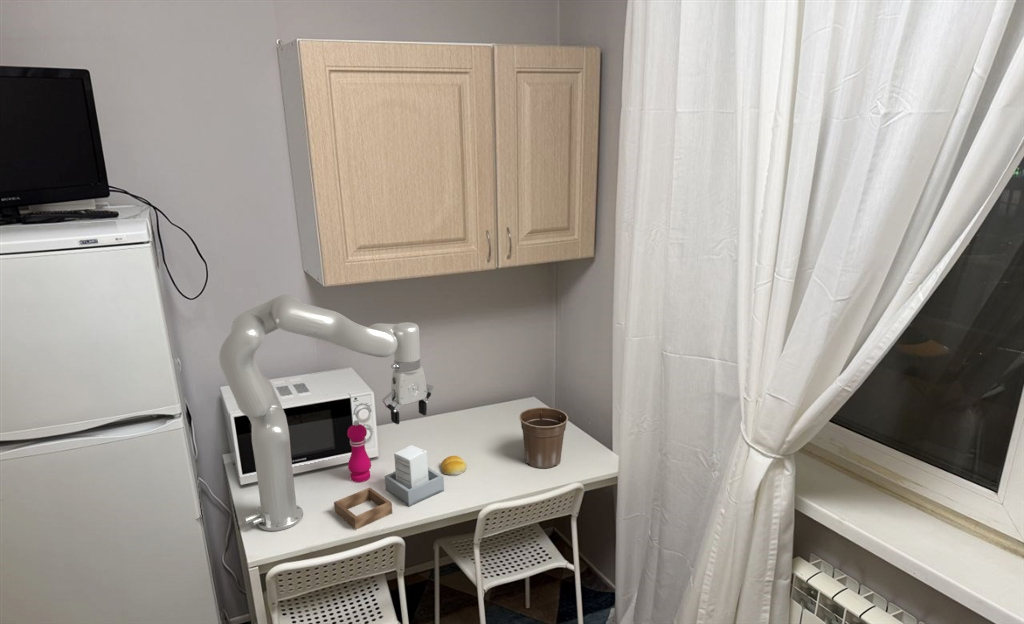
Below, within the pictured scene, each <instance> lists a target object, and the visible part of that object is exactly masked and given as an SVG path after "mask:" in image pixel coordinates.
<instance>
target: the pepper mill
mask: <svg viewBox="0 0 1024 624" xmlns="http://www.w3.org/2000/svg"><path fill="white" fill-rule="evenodd" d="M367 433H368V431H367V428H366V427H365V425H363V424H361V423H360V421H359V420H353V424H351V426H349V427H348V429H347V435H346V436H347V437H348V439H349V445H350V446H351V454H350V457H349V460H348V463H347V465H348V466H347V469H348V471H350V480H351V481H352V482H354V483H363V482H367V481H368V480H369V479H370V478H371V471H370V469H371V467H372V462H371V459H370V457H369V454H368V452H367V451H366V447H365V446H366V445H365V444H366V443H367V441H366V436H367Z"/></svg>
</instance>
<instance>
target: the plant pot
mask: <svg viewBox="0 0 1024 624" xmlns="http://www.w3.org/2000/svg"><path fill="white" fill-rule="evenodd" d="M518 418H519V421H520V426H521V430H522V437H523V438H522V439H523V449H524V451H523V452H524V460H525V463H526V464H529V466H531V467H533V468H537V469H550V468H552V467H554V466H555V467H556V466H558V465H559V464H560V463H561V461H562V452H563V443H564V436H565V431H566V428H567V422H568V420H569V416H568V415H567V413H566V412H564V411H563V410H560V409H559V408H558V409H557V408H552V407H540V406H539V407H531V408H528V409H526V410H523V411H522V412H521V413H520V414H519V416H518Z"/></svg>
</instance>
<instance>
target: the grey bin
mask: <svg viewBox="0 0 1024 624" xmlns="http://www.w3.org/2000/svg"><path fill="white" fill-rule="evenodd" d="M428 478H429V481H427V482H425V483H423V484H420V485H418V486H416V487H413V488H411V489H408V488H406V487H405V486H403V485H402V484H400V483H399V482H397V481H396V473H395V471H393V472H391V473H389V474H386V475H384V488H385V491H386V492H387V493H389V494H390V495H391V496H393V497H394V498H396V500H398V501H400V502H401V503H403V504H404V505H406V506H407V507H409V508H411V507H412V506H414V505H417V504H418V503H421V502H422V501H425V500H427V499H429V498H432V497H434V496H436V495H438V494H440V493H442V492H444V491H445V480H444V479H445V478H444V475H442V474H440V473H439V472H437V471H436V470H433V469H432V468H430V467H428Z"/></svg>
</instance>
